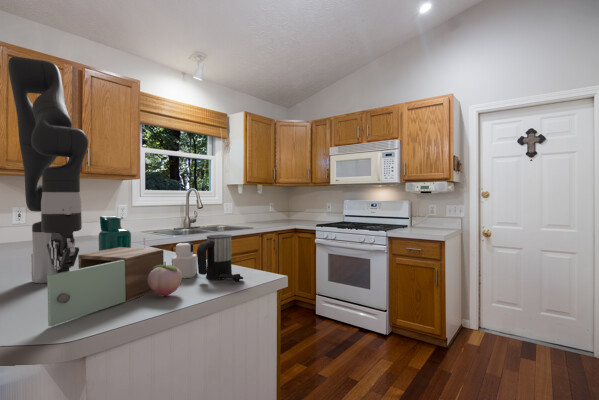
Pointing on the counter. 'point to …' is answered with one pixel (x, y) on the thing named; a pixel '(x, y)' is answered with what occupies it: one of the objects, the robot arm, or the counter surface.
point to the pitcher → (113, 233)
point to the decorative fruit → (164, 279)
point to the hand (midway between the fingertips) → (62, 284)
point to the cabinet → (128, 266)
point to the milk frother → (216, 258)
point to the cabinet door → (85, 291)
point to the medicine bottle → (185, 259)
